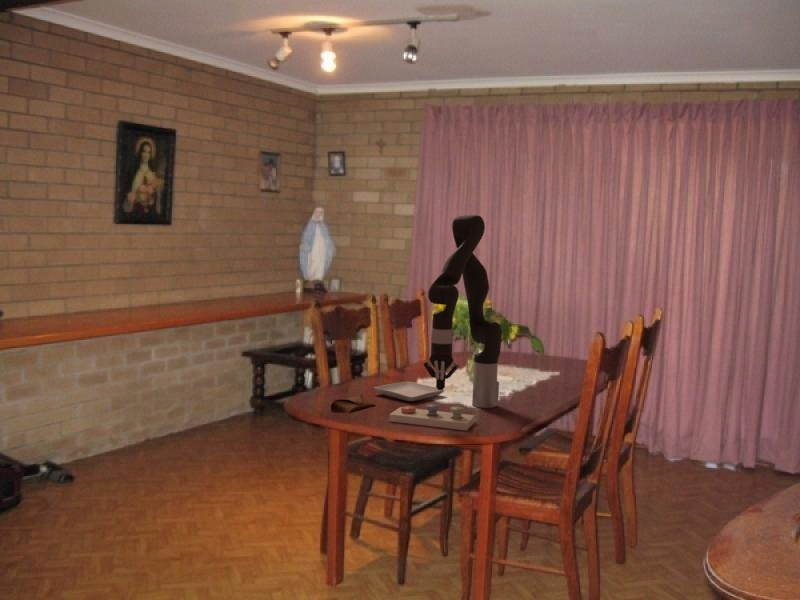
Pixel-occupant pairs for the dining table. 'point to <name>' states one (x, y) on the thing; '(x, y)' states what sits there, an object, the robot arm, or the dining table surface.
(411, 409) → the terracotta button
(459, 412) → the sage button
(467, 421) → the button panel
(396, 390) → the salad plate
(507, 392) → the dining table surface
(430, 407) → the slate button
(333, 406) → the sunglasses case
